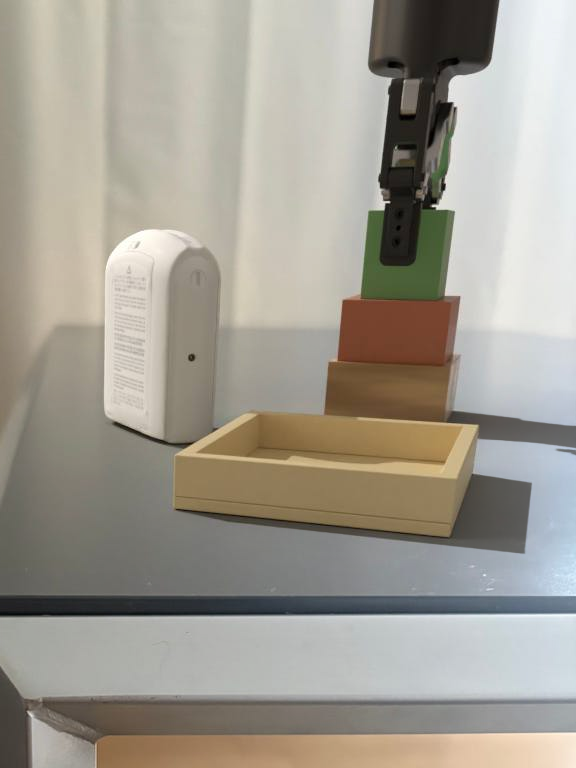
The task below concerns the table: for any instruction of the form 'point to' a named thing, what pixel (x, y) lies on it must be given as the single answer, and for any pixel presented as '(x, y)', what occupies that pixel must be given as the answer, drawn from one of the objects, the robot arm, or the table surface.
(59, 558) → the table surface
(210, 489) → the tray
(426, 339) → the middle block
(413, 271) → the green block
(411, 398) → the base block
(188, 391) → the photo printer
